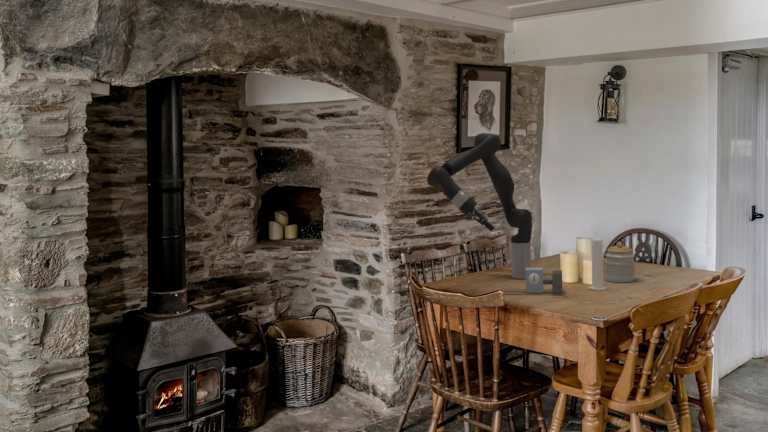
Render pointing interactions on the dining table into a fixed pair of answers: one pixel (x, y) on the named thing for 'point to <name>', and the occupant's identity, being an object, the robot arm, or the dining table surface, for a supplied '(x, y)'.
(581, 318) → the dining table surface
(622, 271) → the jar
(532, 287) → the grey box with emblem
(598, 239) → the candle
